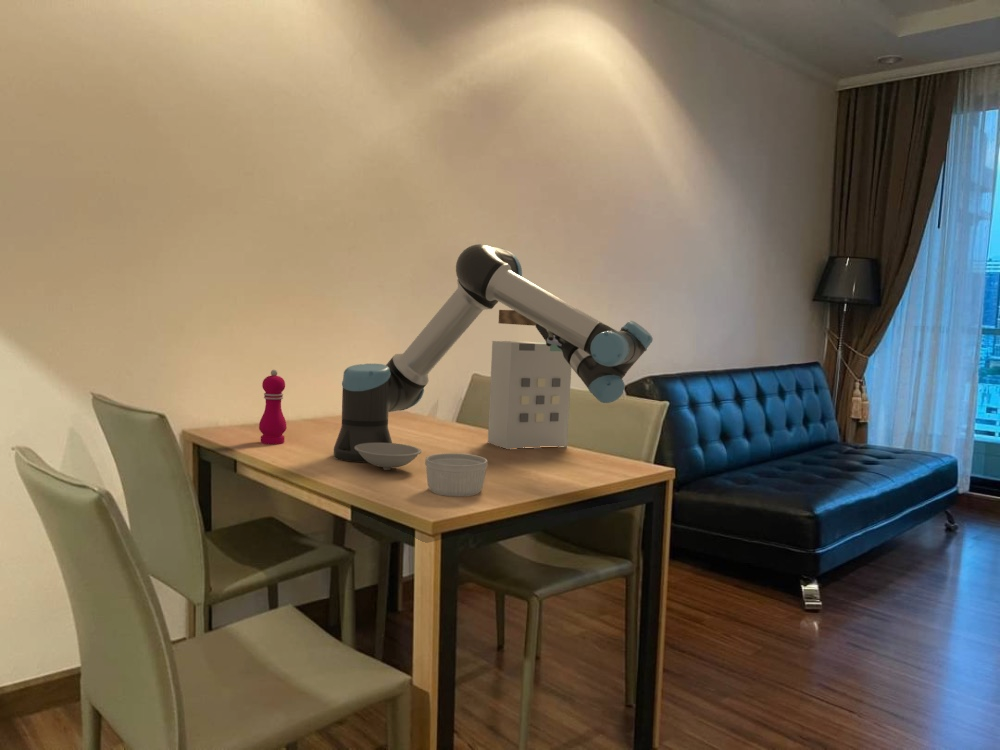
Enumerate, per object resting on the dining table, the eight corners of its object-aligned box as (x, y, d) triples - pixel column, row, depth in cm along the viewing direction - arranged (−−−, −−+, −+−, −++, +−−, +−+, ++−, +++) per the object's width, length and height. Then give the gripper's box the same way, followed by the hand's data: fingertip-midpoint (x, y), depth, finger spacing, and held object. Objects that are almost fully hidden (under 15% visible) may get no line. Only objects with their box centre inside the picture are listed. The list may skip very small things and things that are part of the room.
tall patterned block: (568, 447, 227) (573, 344, 224) (507, 450, 218) (512, 343, 215) (546, 440, 238) (551, 342, 236) (487, 442, 229) (492, 340, 227)
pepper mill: (290, 441, 215) (291, 369, 214) (280, 445, 208) (282, 371, 207) (264, 439, 216) (266, 368, 215) (254, 443, 209) (255, 369, 207)
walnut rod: (567, 327, 203) (568, 312, 202) (554, 326, 201) (555, 311, 200) (510, 323, 231) (511, 310, 231) (498, 323, 229) (499, 309, 229)
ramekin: (471, 501, 157) (472, 467, 156) (412, 493, 162) (414, 460, 161) (495, 488, 169) (496, 457, 169) (440, 481, 174) (441, 450, 173)
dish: (434, 472, 183) (435, 451, 183) (387, 479, 173) (388, 457, 172) (387, 460, 195) (387, 440, 195) (339, 466, 185) (340, 445, 184)
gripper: (615, 344, 195) (574, 298, 212) (557, 343, 187) (519, 294, 204) (605, 369, 199) (566, 321, 216) (548, 368, 191) (511, 319, 208)
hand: (543, 308), depth 210 cm, fingers closed on walnut rod, 4 cm apart
